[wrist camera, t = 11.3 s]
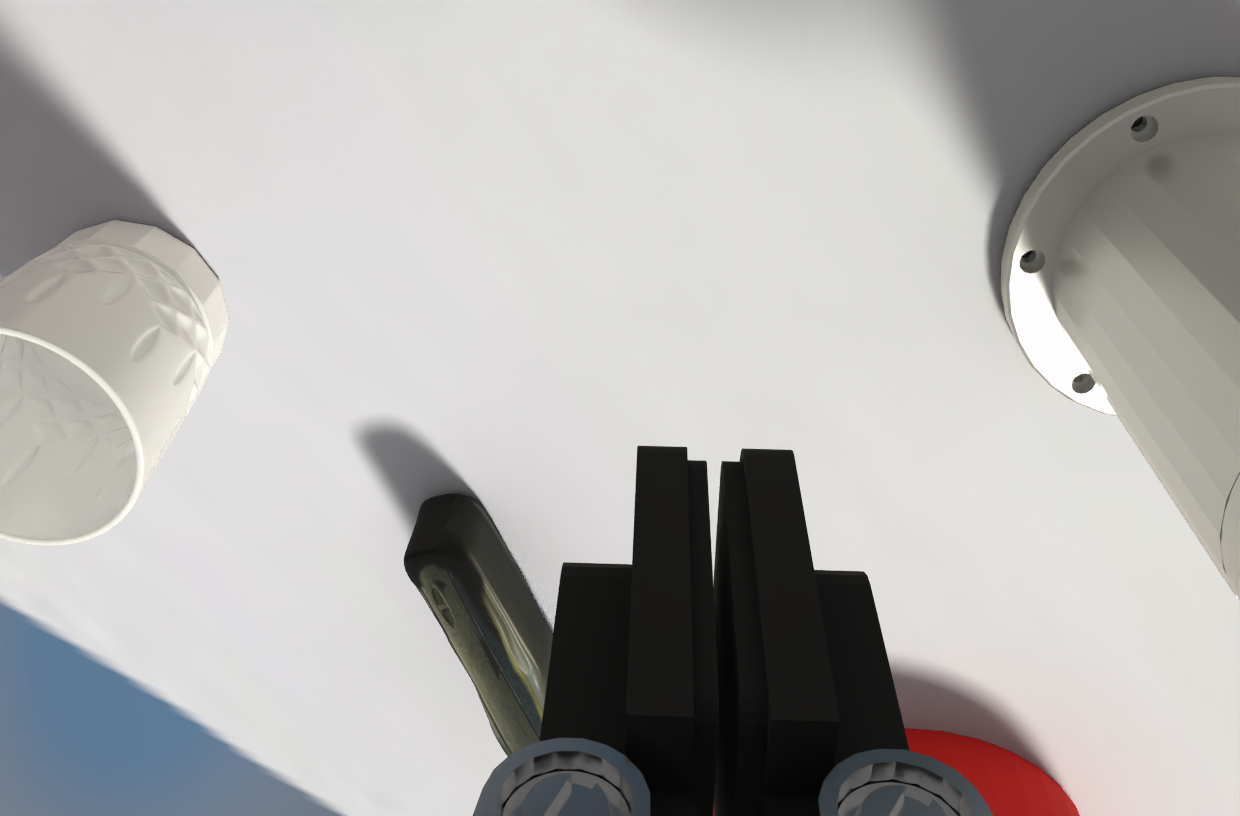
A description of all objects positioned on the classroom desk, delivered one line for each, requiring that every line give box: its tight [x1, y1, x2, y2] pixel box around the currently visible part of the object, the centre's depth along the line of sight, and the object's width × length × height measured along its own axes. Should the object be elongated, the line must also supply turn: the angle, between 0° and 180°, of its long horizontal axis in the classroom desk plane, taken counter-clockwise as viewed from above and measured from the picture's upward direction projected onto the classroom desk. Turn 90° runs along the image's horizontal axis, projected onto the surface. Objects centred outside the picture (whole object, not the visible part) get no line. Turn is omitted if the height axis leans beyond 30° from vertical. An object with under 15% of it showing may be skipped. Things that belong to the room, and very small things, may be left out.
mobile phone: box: [404, 494, 553, 756], centre depth 49 cm, size 5×3×15 cm
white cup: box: [0, 220, 230, 545], centre depth 40 cm, size 8×8×10 cm
